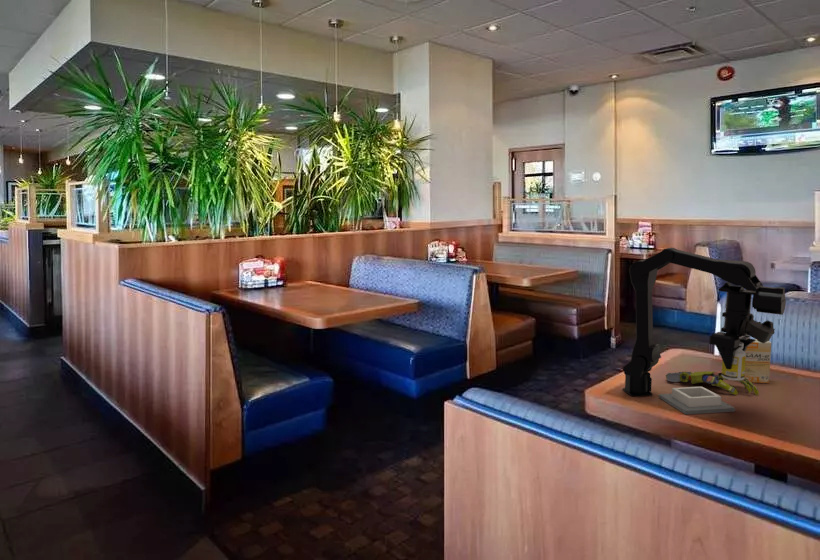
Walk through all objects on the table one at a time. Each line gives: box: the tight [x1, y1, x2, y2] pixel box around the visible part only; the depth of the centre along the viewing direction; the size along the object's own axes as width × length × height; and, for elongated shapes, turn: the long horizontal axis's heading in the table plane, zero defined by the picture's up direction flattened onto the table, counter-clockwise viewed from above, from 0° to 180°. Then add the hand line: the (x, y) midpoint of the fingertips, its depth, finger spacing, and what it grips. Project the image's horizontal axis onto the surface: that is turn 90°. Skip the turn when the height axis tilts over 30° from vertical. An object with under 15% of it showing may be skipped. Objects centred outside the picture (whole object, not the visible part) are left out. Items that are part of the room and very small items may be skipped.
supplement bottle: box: [721, 342, 746, 381], centre depth 159 cm, size 5×5×10 cm
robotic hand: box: [665, 370, 760, 396], centre depth 181 cm, size 12×7×25 cm
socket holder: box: [658, 386, 736, 415], centre depth 166 cm, size 14×14×4 cm
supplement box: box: [744, 338, 772, 384], centre depth 185 cm, size 8×5×13 cm, turn 80°
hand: (733, 366), depth 159 cm, fingers closed on supplement bottle, 5 cm apart
